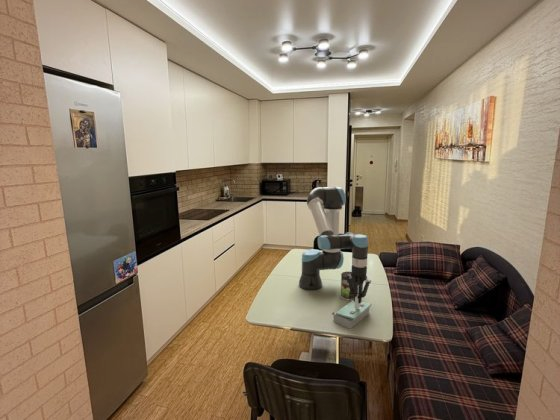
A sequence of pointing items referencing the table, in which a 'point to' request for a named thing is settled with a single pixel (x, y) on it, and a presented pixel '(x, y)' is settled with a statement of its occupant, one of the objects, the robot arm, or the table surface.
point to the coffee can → (346, 287)
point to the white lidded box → (349, 319)
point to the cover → (353, 310)
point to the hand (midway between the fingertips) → (357, 307)
